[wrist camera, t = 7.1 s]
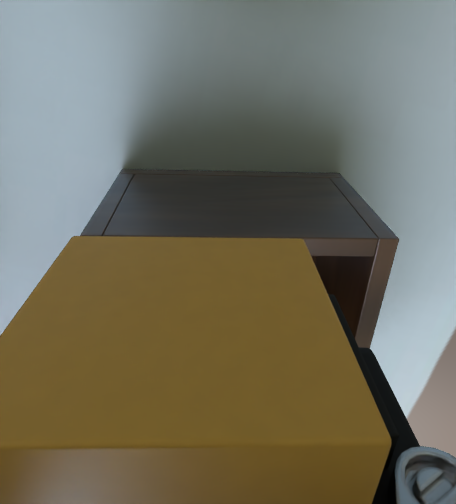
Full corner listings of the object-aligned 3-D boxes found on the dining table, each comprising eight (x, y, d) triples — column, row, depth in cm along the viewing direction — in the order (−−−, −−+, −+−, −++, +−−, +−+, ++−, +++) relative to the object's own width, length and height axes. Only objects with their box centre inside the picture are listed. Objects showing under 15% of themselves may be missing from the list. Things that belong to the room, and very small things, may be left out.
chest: (121, 168, 24) (79, 235, 16) (339, 173, 25) (399, 238, 17) (141, 372, 32) (120, 481, 24) (305, 371, 33) (335, 477, 25)
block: (71, 234, 9) (-84, 445, 4) (304, 237, 9) (396, 442, 5) (100, 400, 12) (22, 647, 7) (283, 399, 12) (328, 640, 7)
